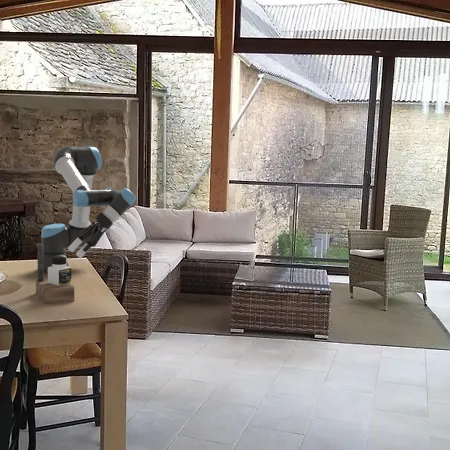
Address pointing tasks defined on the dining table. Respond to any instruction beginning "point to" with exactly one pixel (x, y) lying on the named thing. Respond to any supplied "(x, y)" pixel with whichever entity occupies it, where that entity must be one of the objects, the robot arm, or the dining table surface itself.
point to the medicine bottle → (59, 271)
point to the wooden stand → (51, 285)
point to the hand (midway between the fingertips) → (73, 253)
